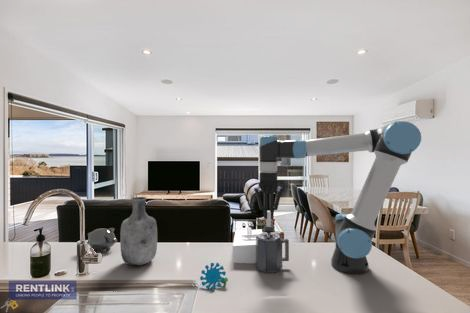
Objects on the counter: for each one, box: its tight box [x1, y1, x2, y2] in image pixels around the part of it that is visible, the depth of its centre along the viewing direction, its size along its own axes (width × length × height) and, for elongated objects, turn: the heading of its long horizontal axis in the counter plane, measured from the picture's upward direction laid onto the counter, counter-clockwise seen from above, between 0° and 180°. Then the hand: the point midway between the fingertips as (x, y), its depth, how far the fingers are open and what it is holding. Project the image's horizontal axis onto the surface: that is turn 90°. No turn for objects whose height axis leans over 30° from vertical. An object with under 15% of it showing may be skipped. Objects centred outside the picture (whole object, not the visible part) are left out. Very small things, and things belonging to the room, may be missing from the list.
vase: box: [119, 196, 158, 266], centre depth 123 cm, size 16×16×30 cm
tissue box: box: [232, 226, 263, 264], centre depth 133 cm, size 14×25×11 cm, turn 177°
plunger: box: [263, 225, 275, 237], centre depth 115 cm, size 8×8×14 cm
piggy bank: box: [87, 227, 118, 254], centre depth 139 cm, size 11×15×12 cm
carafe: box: [255, 232, 290, 275], centre depth 116 cm, size 14×11×14 cm
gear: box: [199, 262, 229, 290], centre depth 103 cm, size 11×6×10 cm
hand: (268, 226), depth 115 cm, fingers closed
